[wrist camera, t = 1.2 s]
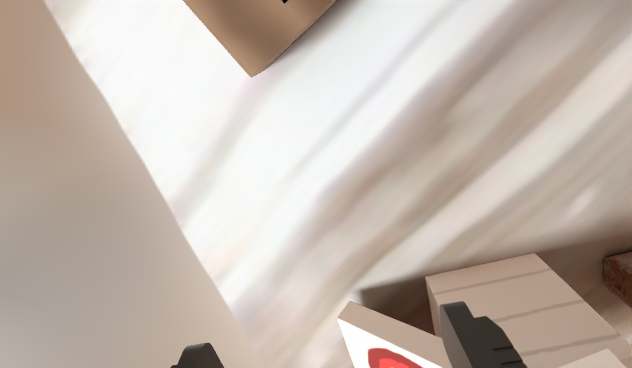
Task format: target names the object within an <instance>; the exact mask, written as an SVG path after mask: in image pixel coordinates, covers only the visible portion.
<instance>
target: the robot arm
mask: <svg viewBox="0 0 632 368" xmlns="http://www.w3.org/2000/svg"><path fill="white" fill-rule="evenodd" d="M439 308H440V321H441V333H442V340H443V344H444V347H445V351H446V353H447V356H448V358H449V361H450V363H451V365H452V368H528V367H527V366H526V364H524V363H523V360H522V358H521V357H520V355H519V354H518V352H517V351H516V349H514V347H513V344H512V343H511V341H510V340H509V338H508V337H507V335H506V334H505V332H504V331H503V329H502V328H501V327H499V326H498V325H497V324H496V323H494V322H493V321H492V320H491V319H490V318H488V317H487V316H482V317H476V318H474V317H473V315H472V313H471V312H470V310H469V308H468V306H467V305H466V303H465V302H464V301H459V302H453V303H447V304H441V305H440V307H439ZM171 368H224V367H223V365H222V363H221V361H220V359H219V358H218V356H217V354H216V352H215V350H214V349H213V347H212V345H211V344H210V343H203V344H197V345H191V346H187V347H186V348H185V349H184V351H183V353H182V355H181V357H180V360H179V362H178V364H177V365H173V366H172V367H171Z"/></svg>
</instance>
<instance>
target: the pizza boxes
mask: <svg viewBox="0 0 632 368" xmlns="http://www.w3.org/2000/svg"><path fill="white" fill-rule="evenodd" d="M425 280H426V286H427V291H428V297H429V303H430V309H431V315H432V320H433V326H434V332H435V335H432V334H430V333H427V332H425V331H422V330H420V329H418V328H415V327H413V326H410V325H408V324H405V323H403V322H400V321H398V320H396V319H393V318H391V317H388V316H386V315H383V314H381V313H378V312H376V311H374V310H371V309H369V308H366V307H364V306H361V305H359V304H356V303H354V302H351V301H349V303H348V304H347V305H346V307H345V308H344V309H343V311H342V312H341V313H340V315H339V316H338V317H337V319H338V322H339V325H340V328H341V330H342V333H343V336H344V339H345V342H346V345H347V347H348V350H349V353H350V356H351V359H352V361H353V364H354V367H355V368H452V365H451V363H450V361H449V358H448V356H447V353H446V351H445V347H444V344H443V340H442V333H441V321H440V308H439V307H440V305H441V304H447V303H453V302H459V301H464V302H465V303H466V305H467V306H468V308H469V310H470V312H471V313H472V315H473V317H474V318H476V317H482V316H487V317H488V318H490V319H491V320H492V321H493V322H494V323H496V324H497V325H498V326H499V327H501V328H502V329H503V331H504V332H505V334H506V335H507V337H508V338H509V340H510V341H511V343H512V344H513V347H514V349H516V351H517V352H518V354H519V355H520V357H521V358H522V360H523V363H524V364H526V366H527V367H528V368H632V345H630V344H629V343H628V342H627V341H626V340H625V339H624V338H623V337H622V336H621V335H620V334H619V333H618V332H617V331H616V330H615V329H614V328H613V327H612V326H611V325H610V324H609V323H607V322H606V321H605V320H604V319H603V318H602V317H601V316H600V315H599V314H598V313H597V312H596V311H595V310H594V309H593V308H592V307H591V306H590V305H589V304H588V303H587V302H585V301H584V300H583V299H582V298H581V297H580V296H579V295H578V294H577V293H576V292H575V291H574V290H573V289H572V288H571V287H570V286H569V285H568V284H567V283H566V282H565V281H563V280H562V279H561V278H560V277H559V276H558V275H557V274H556V273H555V272H554V271H553V270H552V269H551V268H550V267H549V266H548V265H547V264H546V263H545V262H544V261H543V260H542V259H540V258H539V257H538V256H537V255H536V254H535V253H532V254H527V255H523V256H518V257H514V258H509V259H504V260H500V261H495V262H490V263H486V264H481V265H477V266H472V267H467V268H463V269H458V270H454V271H449V272H444V273H440V274H435V275H430V276H426V277H425Z"/></svg>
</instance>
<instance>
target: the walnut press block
mask: <svg viewBox="0 0 632 368" xmlns="http://www.w3.org/2000/svg"><path fill="white" fill-rule="evenodd" d="M183 1H184V2H185V3H186V4H187V6H188V7H189V8H190V9H191V10H192V11H193V12H194V14H195V15H196V16H197V17H198V18H199V19H200V20H201V21H202V23H203V24H204V25H205V26H206V27H207V28H208V29H209V31H210V32H211V33H212V34H213V35H214V36H215V37H216V39H217V40H218V41H219V42H220V43H221V44H222V45H223V46H224V48H225V49H226V50H227V51H228V52H229V53H230V54H231V56H232V57H233V58H234V59H235V60H236V61H237V62H238V63H239V65H240V66H241V67H242V68H243V69H244V70H245V71H246V73H247V74H248V75H249V76H250V77H253V76H255V75H257V74H259V73H260V72H262V71H264V70H265V69H266V68H267V67H268V66H269V65H270V64H271V63H272V62H273V61H275V60H276V59H277V58H278V57H279V56H280V55H281V54H282V53H283V52H284V51H285V50H286V49H287V48H288V47H289V46H290V45H291V44H292V43H294V42H295V41H296V40H297V39H298V38H299V37H300V36H301V35H302V34H303V33H304V32H305V31H306V30H307V29H308V28H309V27H310V26H311V25H312V24H314V23H315V22H316V21H317V20H318V19H319V18H320V17H321V16H322V15H323V14H324V13H325V12H326V11H327V10H328V9H329V8H330V7H331V6H333V5H334V4H335V3H336V2H337V1H338V0H288V1H287V2H286V3H285V4H284V3H283V1H282V0H183Z"/></svg>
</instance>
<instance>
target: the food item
mask: <svg viewBox="0 0 632 368" xmlns="http://www.w3.org/2000/svg"><path fill="white" fill-rule="evenodd" d="M603 268H604V278H603V282H604V285H605V286H606V287H607V288H608V289H609V290H610V291H611V292H612V293H614V294H615V295H616V296H618V297H619V298H620V299H621V300H622V301H624V302H625V303H626V304H627V305H628V306H630V307H631V308H632V251H631V252H628V253H624V254H620V255H615V256H610V257H607V258H605V263H604V264H603Z"/></svg>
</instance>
